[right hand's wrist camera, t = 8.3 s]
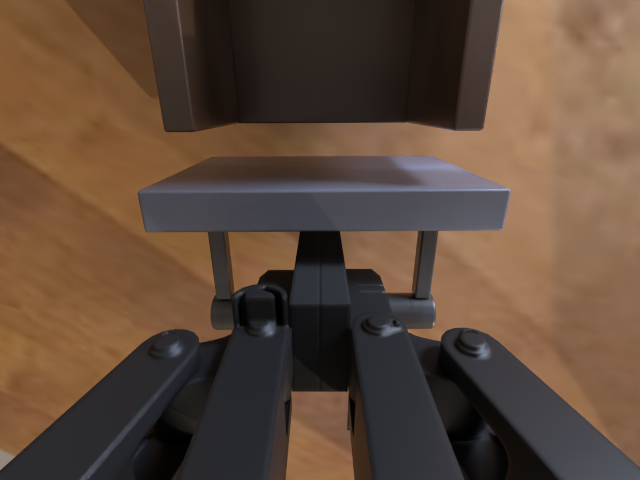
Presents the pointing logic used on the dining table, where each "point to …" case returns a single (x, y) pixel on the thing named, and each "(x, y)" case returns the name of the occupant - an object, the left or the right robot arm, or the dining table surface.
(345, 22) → the drawer
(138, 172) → the dining table surface
